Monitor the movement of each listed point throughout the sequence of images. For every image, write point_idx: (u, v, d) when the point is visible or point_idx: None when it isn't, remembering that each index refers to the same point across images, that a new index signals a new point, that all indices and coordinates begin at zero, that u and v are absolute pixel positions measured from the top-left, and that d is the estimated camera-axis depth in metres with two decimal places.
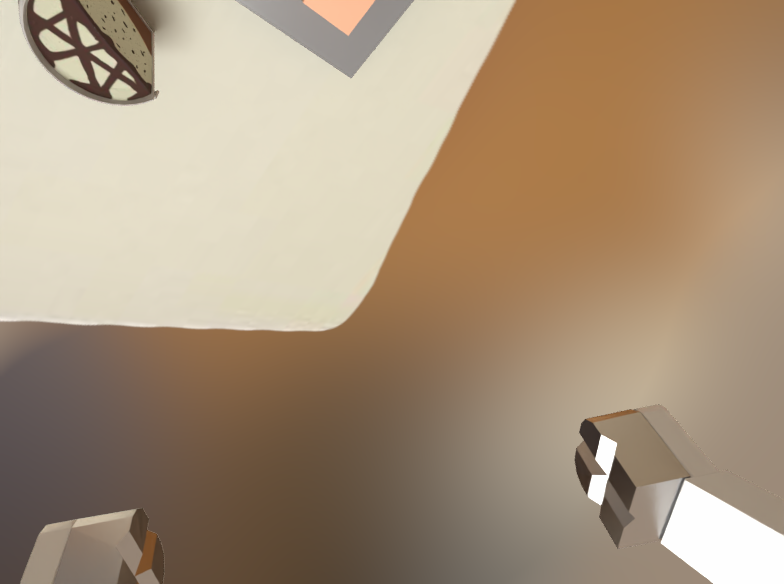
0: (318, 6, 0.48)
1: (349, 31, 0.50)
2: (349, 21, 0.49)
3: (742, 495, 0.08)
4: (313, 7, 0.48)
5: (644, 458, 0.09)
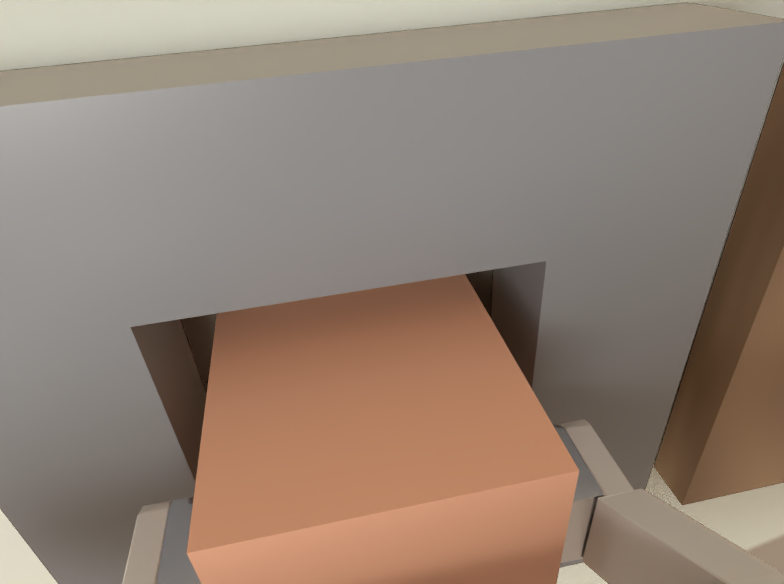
0: None
1: None
2: None
3: (653, 516, 0.08)
4: None
5: None
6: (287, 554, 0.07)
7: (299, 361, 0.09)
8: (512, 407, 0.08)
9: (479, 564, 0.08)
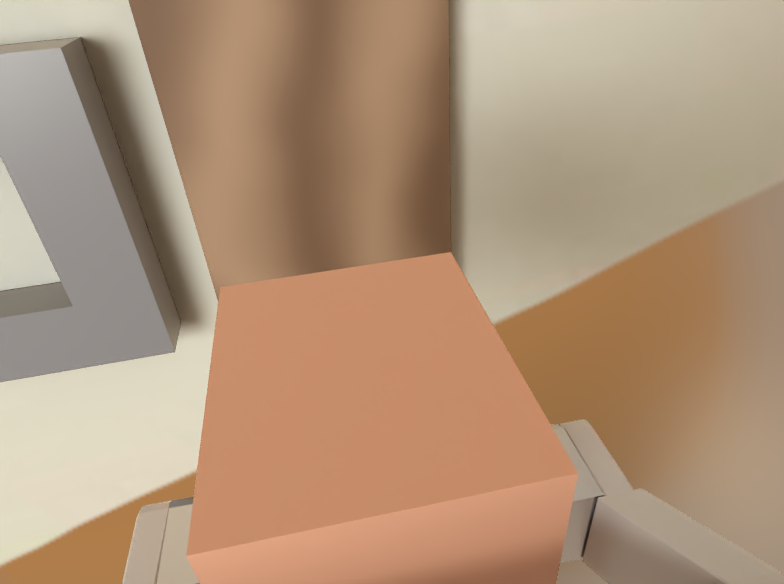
0: None
1: None
2: None
3: (653, 516, 0.08)
4: None
5: None
6: (287, 557, 0.07)
7: (299, 363, 0.09)
8: (511, 409, 0.08)
9: (479, 566, 0.08)
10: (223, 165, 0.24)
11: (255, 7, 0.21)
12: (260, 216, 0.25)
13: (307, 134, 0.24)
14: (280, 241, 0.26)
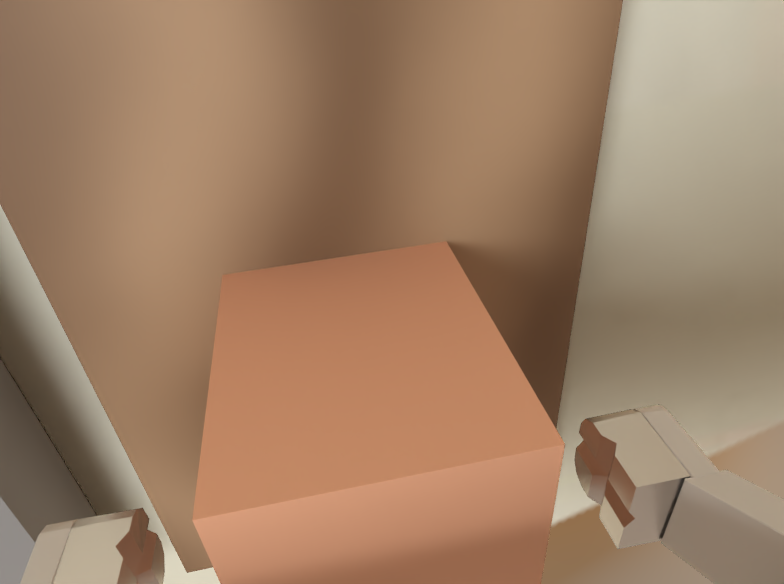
0: (255, 566, 0.08)
1: None
2: None
3: (743, 496, 0.08)
4: (226, 559, 0.07)
5: (644, 458, 0.09)
6: (287, 523, 0.07)
7: (299, 345, 0.10)
8: (502, 387, 0.08)
9: (472, 536, 0.08)
10: (166, 352, 0.13)
11: (219, 73, 0.10)
12: None
13: None
14: None
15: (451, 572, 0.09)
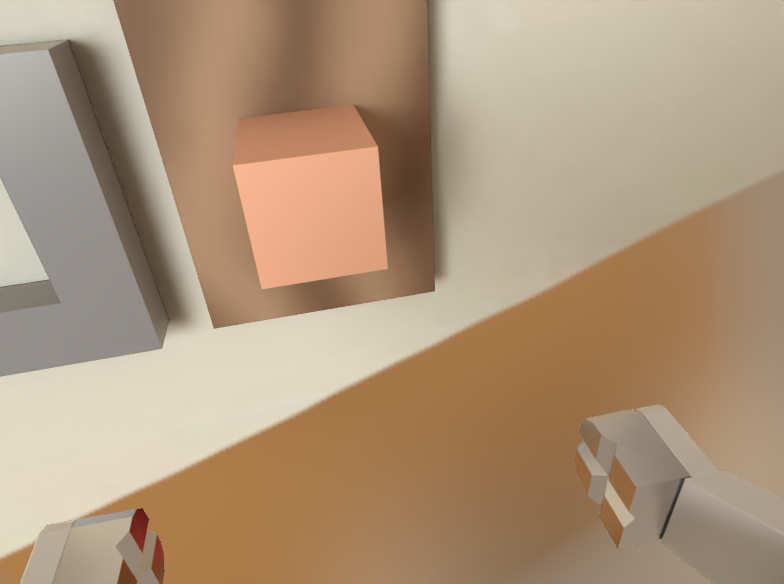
0: (256, 198, 0.19)
1: (271, 284, 0.21)
2: (287, 269, 0.21)
3: (743, 496, 0.08)
4: (244, 191, 0.19)
5: (644, 458, 0.09)
6: (268, 174, 0.19)
7: (275, 133, 0.21)
8: (360, 137, 0.20)
9: (346, 197, 0.20)
10: (208, 164, 0.24)
11: (238, 11, 0.21)
12: None
13: None
14: None
15: (340, 221, 0.20)
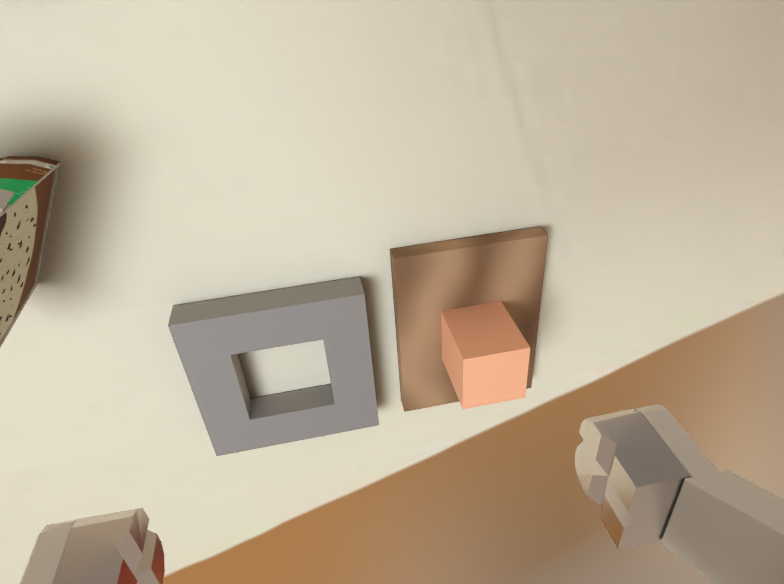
0: (470, 371, 0.39)
1: (467, 406, 0.41)
2: (476, 399, 0.41)
3: (743, 495, 0.08)
4: (466, 369, 0.39)
5: (644, 458, 0.09)
6: (478, 361, 0.39)
7: (470, 329, 0.41)
8: (518, 337, 0.40)
9: (511, 368, 0.40)
10: (421, 332, 0.44)
11: (451, 266, 0.41)
12: (434, 354, 0.46)
13: None
14: (442, 365, 0.47)
15: (506, 378, 0.41)
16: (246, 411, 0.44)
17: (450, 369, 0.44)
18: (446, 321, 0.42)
